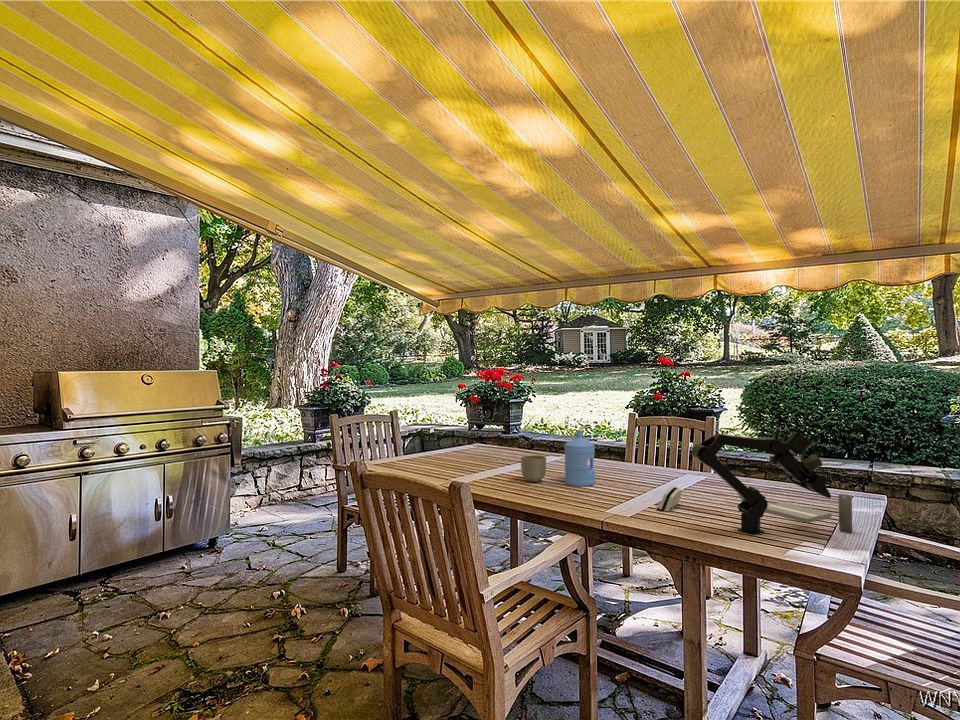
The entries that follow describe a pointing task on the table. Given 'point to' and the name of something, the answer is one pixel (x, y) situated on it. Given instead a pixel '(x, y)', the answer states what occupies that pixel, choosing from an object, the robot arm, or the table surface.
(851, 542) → the table surface
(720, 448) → the robot arm
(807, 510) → the board
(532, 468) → the planter
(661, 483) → the table surface
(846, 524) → the bottle
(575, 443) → the water jug
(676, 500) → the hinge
